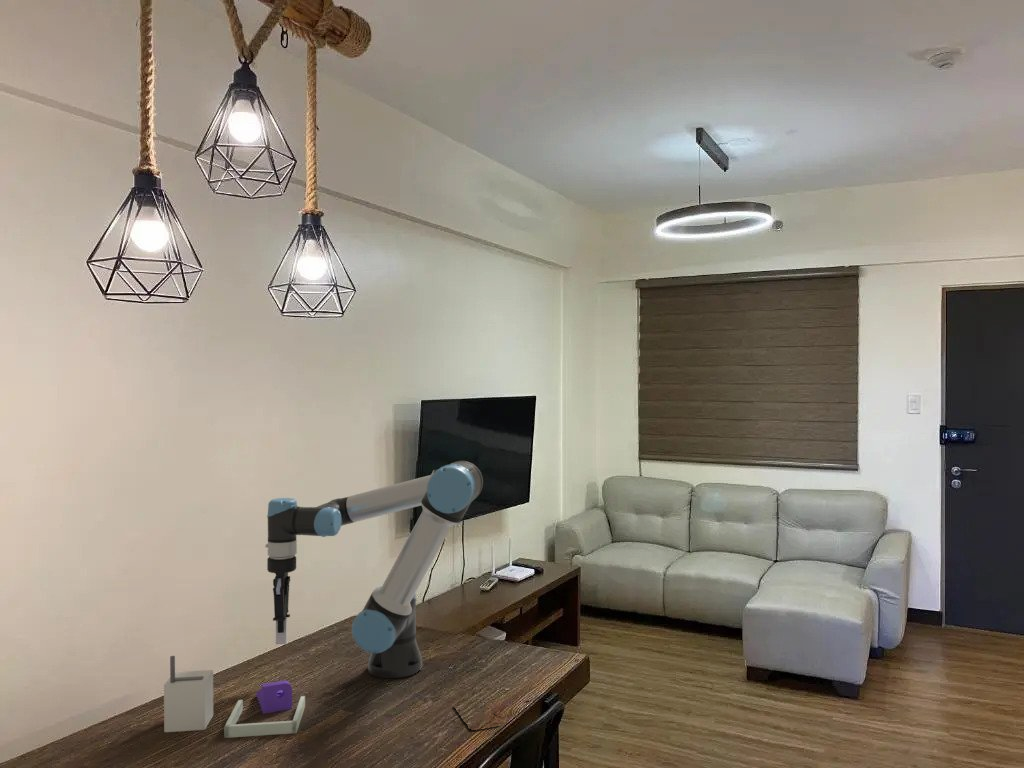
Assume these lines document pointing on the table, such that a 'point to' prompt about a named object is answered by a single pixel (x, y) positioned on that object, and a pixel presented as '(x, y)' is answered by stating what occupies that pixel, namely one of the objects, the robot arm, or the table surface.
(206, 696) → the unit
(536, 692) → the table surface
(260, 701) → the bracket
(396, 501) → the robot arm
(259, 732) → the corral
